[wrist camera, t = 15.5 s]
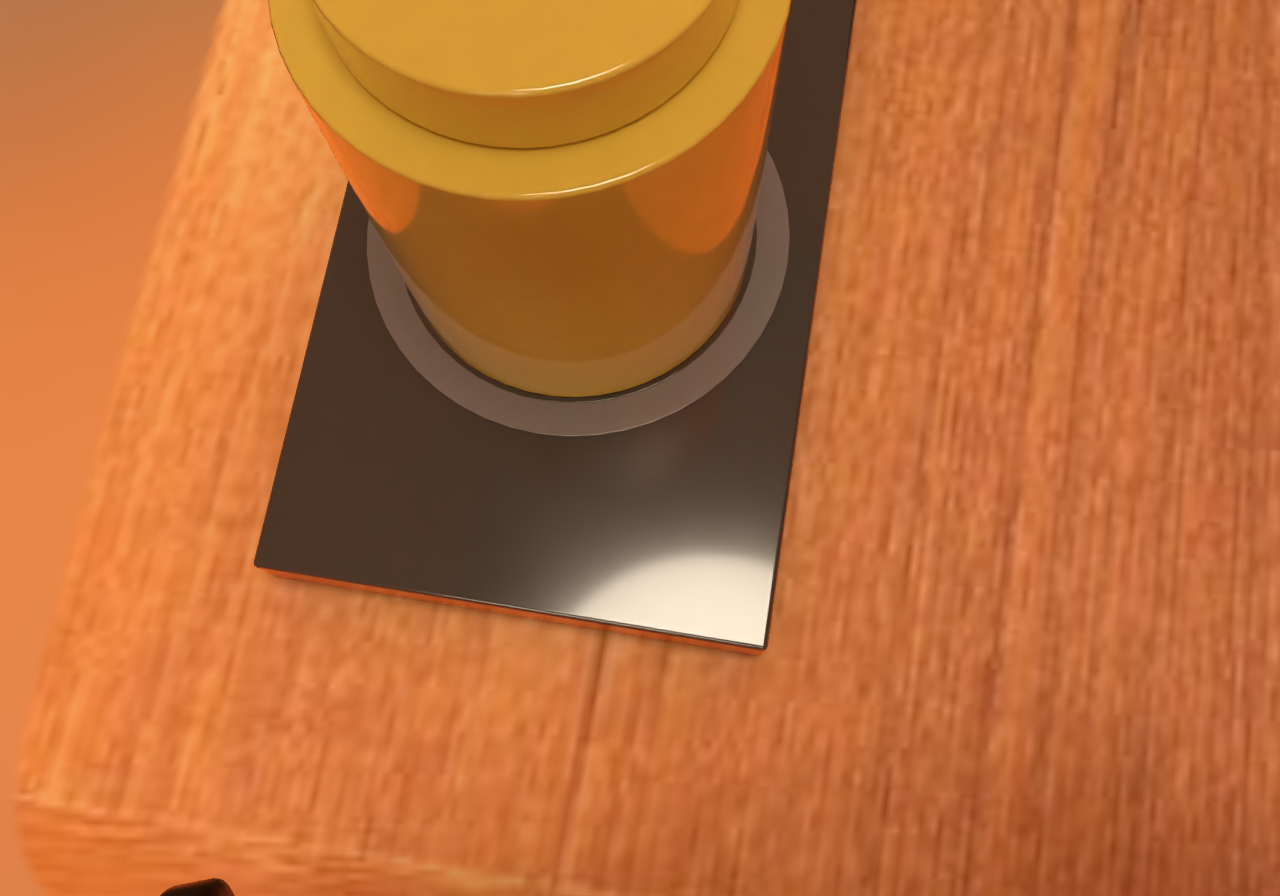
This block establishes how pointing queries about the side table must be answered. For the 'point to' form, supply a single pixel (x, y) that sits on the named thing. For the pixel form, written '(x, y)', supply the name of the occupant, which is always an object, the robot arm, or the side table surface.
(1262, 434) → the side table surface
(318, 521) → the hob
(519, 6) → the jar
